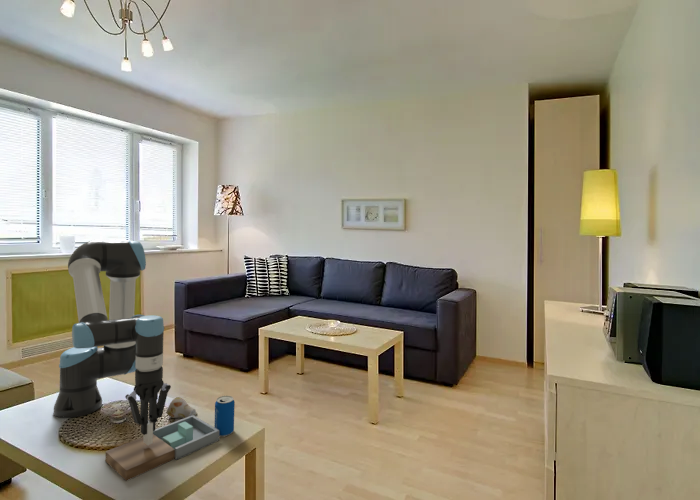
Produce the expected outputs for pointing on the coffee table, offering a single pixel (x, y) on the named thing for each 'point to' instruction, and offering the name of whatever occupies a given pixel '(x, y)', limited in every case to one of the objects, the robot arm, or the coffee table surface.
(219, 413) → the beverage can
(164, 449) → the walnut board
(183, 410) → the mug
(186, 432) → the tile far
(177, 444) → the tile near
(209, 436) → the tray
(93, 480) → the coffee table surface
